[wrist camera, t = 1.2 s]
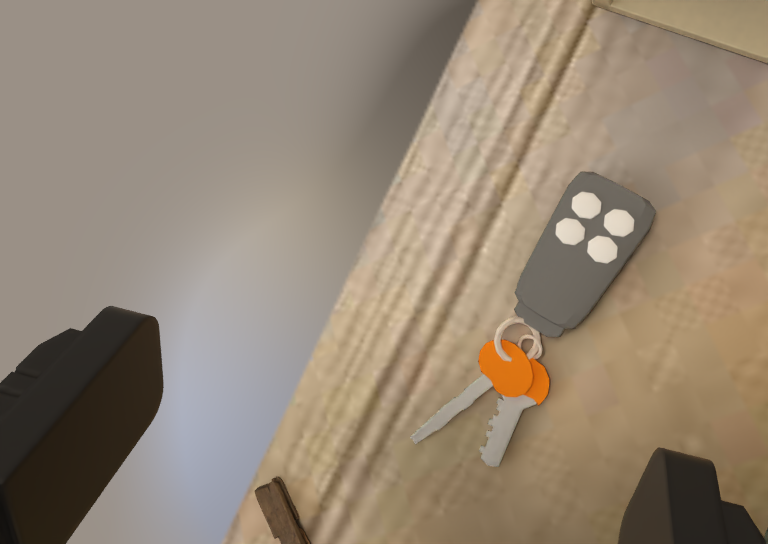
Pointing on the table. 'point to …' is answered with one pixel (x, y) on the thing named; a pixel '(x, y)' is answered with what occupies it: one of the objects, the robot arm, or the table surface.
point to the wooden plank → (280, 512)
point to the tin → (766, 536)
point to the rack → (705, 21)
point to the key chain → (553, 298)
